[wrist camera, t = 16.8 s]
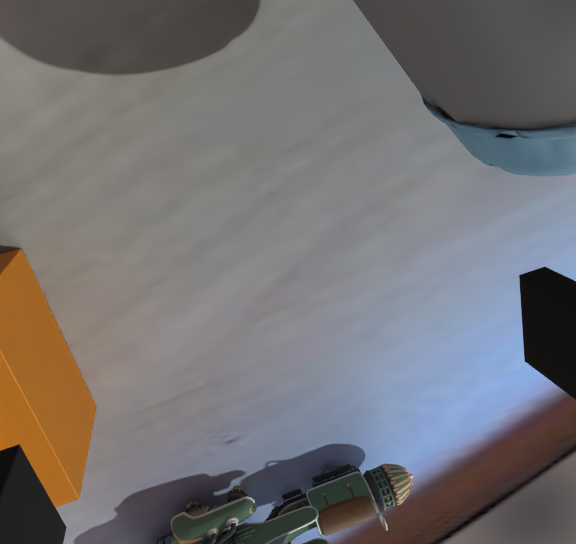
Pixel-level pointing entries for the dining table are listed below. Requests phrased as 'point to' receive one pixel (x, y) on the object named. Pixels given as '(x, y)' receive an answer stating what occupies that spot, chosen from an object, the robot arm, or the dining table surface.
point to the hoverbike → (297, 509)
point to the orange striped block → (40, 385)
